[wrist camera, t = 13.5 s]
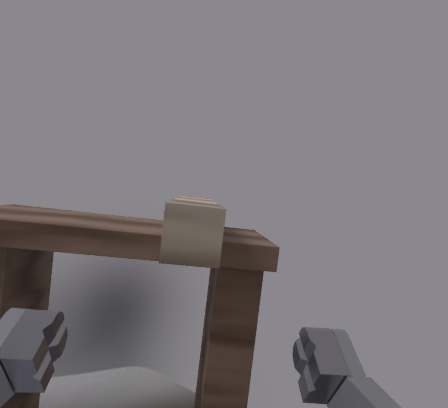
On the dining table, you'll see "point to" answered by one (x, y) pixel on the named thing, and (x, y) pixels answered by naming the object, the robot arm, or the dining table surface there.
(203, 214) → the birch bar
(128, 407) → the dining table surface
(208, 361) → the walnut shelf
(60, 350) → the robot arm
